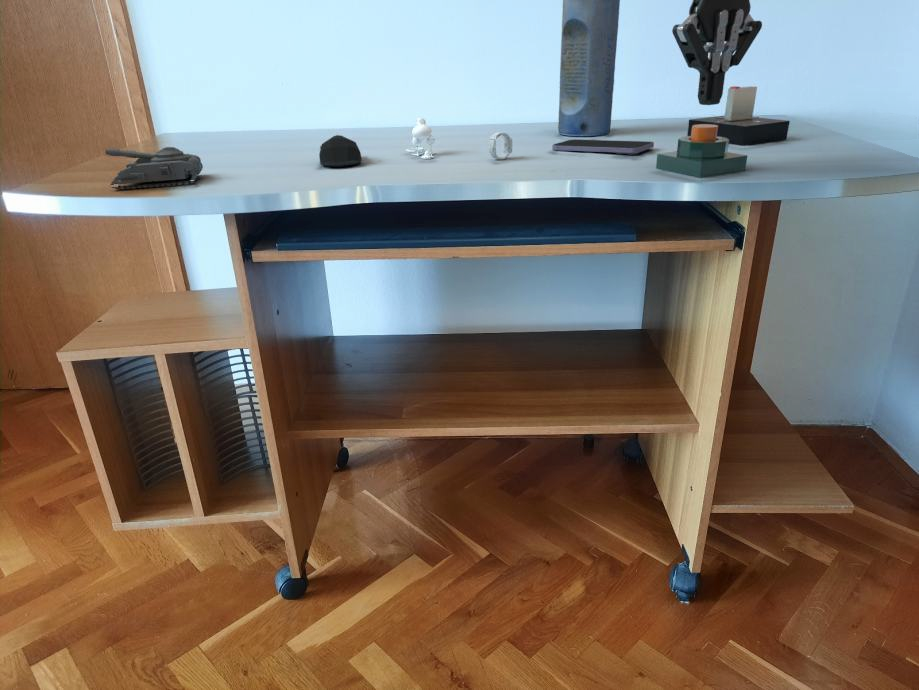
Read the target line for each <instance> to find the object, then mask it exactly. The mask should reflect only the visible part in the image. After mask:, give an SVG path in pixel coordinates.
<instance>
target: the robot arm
mask: <svg viewBox="0 0 919 690" xmlns="http://www.w3.org/2000/svg"><path fill="white" fill-rule="evenodd" d="M751 8H752V7H751V0H692V2H691V4H690V7H689V9H688V15H689V16H687V18H685V20H684V21H683V22H682V23H680V24H679V23H678V24H674V25H673V26H672V30H671V31H672V35H673V38H674V39H675V42H676V43H677V46H678V48H679V50H680V52H681V55H682V57H683V58H684V61H685V63H686V65H687V67H688V68H690V69H694V70H696V71H698V73H699V80H698V88H697V100H698V104H699V105H701V106H713V105H714V106H715V105H719V104H720V103H721V100H722V97H723V94H724V87H725V79H726V73H727V72H728V71H729V70H730V68H732V67H736V66H739V65H740V64H741V62H742V60H743V59H744V57H745V55H746V54H747V53H748V50H749V49H750V47H751V46H752V44H753V42H754V41H755V39H756V38H757V36H758V35H759V34H760V31H761V30H762V28H763V22H762V21H761V20H754V18H753V17H752V15H751V14H750V12H751Z"/></svg>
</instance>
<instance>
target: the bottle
mask: <svg viewBox="0 0 919 690" xmlns="http://www.w3.org/2000/svg"><path fill="white" fill-rule="evenodd" d="M620 4H621V0H562V16H561V18H562V19H561V38H560V39H561V40H560V62H559V63H560V65H559V66H560V67H559V95H558V96H559V100H558V101H559V102H558V103H559V104H558V125H557V131H558V134H560V135H563V136H567V137H595V136H597V137H598V136H604V135H608V134H609V133H610V132H611V127H612V126H611V125H612V110H613V100H614V99H613V97H614V85H615V71H616V59H617V58H616V57H617V45H618V32H619V20H620V19H619V18H620V6H621V5H620Z"/></svg>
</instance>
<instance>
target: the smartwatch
mask: <svg viewBox="0 0 919 690" xmlns="http://www.w3.org/2000/svg"><path fill="white" fill-rule="evenodd" d="M500 136H502V152H503V153H502V154H501V155H500V156H498V155H497V149H496V147H497V146H496V144H497V143H496V142H497V139H498V138H499V137H500ZM487 150H488V153H489V155H490V156H491V158H493V159H495V160H498V161H499V160H500V161H501V160H505V159H507V158H508V157H509V155H511V154H512V153H513V137H511V136H510V135H509V134H508V133H506V132H502V131H495V132H494V133H492V134H491V136H490V137H489V140H488V144H487Z"/></svg>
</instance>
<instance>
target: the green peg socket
mask: <svg viewBox="0 0 919 690" xmlns="http://www.w3.org/2000/svg"><path fill="white" fill-rule="evenodd" d="M677 139H678V140H677V148H676V151H668V152H662V153H657V154H656V164H655V169H656V170H660V171H666V172H670V173H674V174H679V175H683V176H687V177H692V178H697V179H703V178H709V177H715V176H721V175H727V174H734V173H739V172H745V171H746V169H747V168H746V167H747V163H748V162H747V161H748V155H747V154H740V153H735V152H729V150H728V149H729V145H730V144H729V139H727V138H725V137H718V136H717V139H716V141H693V140H691V136H687V135H686V136H681V137H679V138H677Z"/></svg>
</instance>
